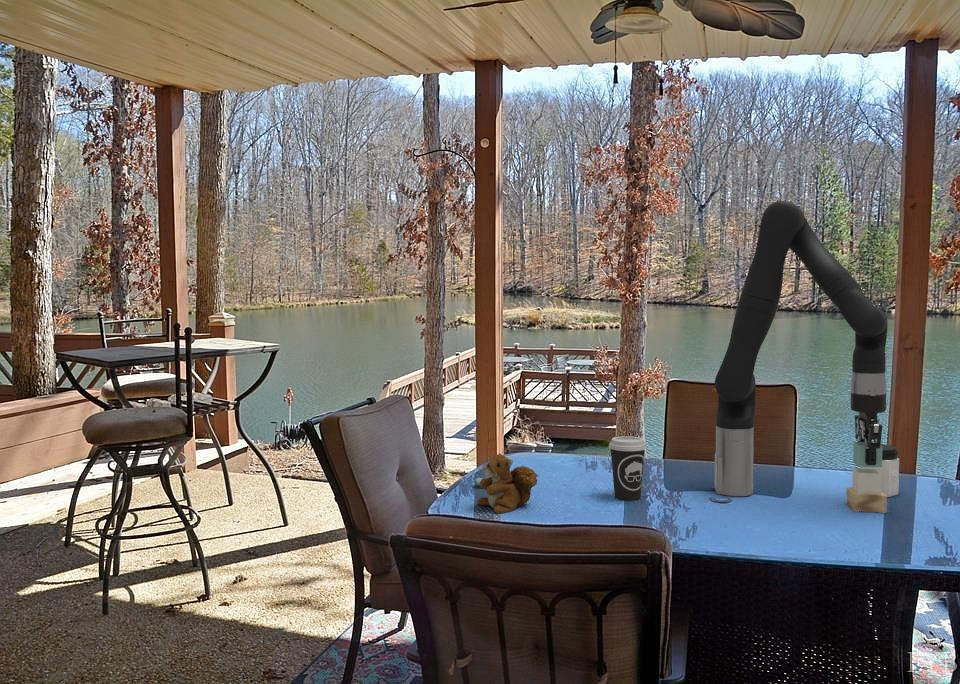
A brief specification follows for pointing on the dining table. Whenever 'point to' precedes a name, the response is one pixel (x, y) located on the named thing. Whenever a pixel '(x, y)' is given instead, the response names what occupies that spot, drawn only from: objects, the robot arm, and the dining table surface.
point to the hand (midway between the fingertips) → (867, 461)
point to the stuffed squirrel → (506, 485)
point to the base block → (866, 502)
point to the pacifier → (485, 476)
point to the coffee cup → (627, 466)
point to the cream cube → (866, 481)
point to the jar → (888, 470)
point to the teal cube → (860, 455)
